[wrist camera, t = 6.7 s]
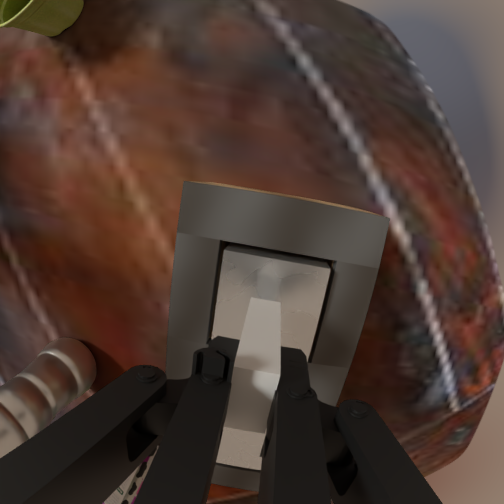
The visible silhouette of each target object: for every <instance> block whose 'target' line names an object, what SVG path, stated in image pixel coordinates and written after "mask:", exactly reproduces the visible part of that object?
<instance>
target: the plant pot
mask: <svg viewBox="0 0 504 504" xmlns="http://www.w3.org/2000/svg"><path fill="white" fill-rule="evenodd" d="M83 5H84V2H83V0H0V28H2V27H15V28H19V29H23V30H27V31H31V32H35V33H38V34H42V35H45V36H56V35H58V34H60V33H61V32H62V31H63V30H65V29H66V28H68V27H70V26H71V25H72V24H73V23H74V22H75V21H76V19H77V18H78V17H79V15H80V13H81V11H82V8H83Z"/></svg>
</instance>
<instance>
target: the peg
mask: <svg viewBox="0 0 504 504" xmlns="http://www.w3.org/2000/svg"><path fill="white" fill-rule="evenodd" d="M330 270H331V269H330V267H329V265H328V264H327V262H326V260H325V259H324V258H319V257H313V256H308V255H302V254H296V253H291V252H285V251H280V250H274V249H269V248H263V247H257V246H252V245H246V244H240V243H235V242H231V243H230V244H229V245H228V246H227V247H226V248H225V249H224V252H223V259H222V266H221V273H220V280H219V287H218V295H217V302H216V309H215V317H214V324H213V332H212V339H213V338H215V337H217V336H223V337H228V338H233V339H238V340H240V339H241V335H242V331H243V327H244V323H245V319H246V315H247V311H248V307H249V303H250V299H251V297H253V298H258V299H264V300H269V301H275V302H281V346H283V347H290V348H296V349H301V350H302V351H303V352H304V354H305V355H306V357H307V361H308V358H309V354H310V351H311V347H312V343H313V339H314V336H315V332H316V328H317V324H318V320H319V316H320V312H321V308H322V304H323V300H324V296H325V292H326V287H327V283H328V279H329V274H330Z"/></svg>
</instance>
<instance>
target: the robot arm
mask: <svg viewBox="0 0 504 504" xmlns="http://www.w3.org/2000/svg"><path fill="white" fill-rule="evenodd" d="M224 427H228V428H233V429H239V430H244V431H250V432H257V433H263V434H265V431H266V436H265V439H264V443H263V446H262V449H261V453H260V456H259V457H262V463H261V474H260V484H259V494H258V504H331V500H330V496H331V498H332V501H333V503H334V504H442V502H441V501H440V499H439V498H438V496H437V495H436V494H435V492H434V491H433V489H432V488H431V487H430V486H429V484H428V483H427V481H426V480H425V478H424V477H423V475H422V474H421V473H420V471H419V470H418V469H417V467H416V466H415V464H414V463H413V462H412V460H411V459H410V457H409V456H408V455H407V453H406V452H405V450H404V449H403V448H402V446H401V445H400V443H399V442H398V441H397V439H396V438H395V437H394V435H393V434H392V432H391V431H390V430H389V428H388V427H387V425H386V424H385V423H384V421H383V420H382V419H381V417H380V416H379V414H378V413H377V412H376V410H375V409H374V408H373V407H372V406H371V405H369V404H368V403H366V402H363V401H360V400H351V399H350V400H346V401H343V402H342V403H341V404H340V406H339V408H338V407H335V406H331V405H328V404H326V403H323V402H321V401H320V400H318V398H317V394H316V392H315V390H313V389H312V388H311V387H310V379H309V372H308V364H307V357H306V355H305V354H304V352H303V351H302V350H301V349H296V348H290V347H283V346H281V302H275V301H269V300H264V299H258V298H253V297H251V299H250V303H249V307H248V311H247V315H246V319H245V323H244V327H243V331H242V335H241V339H240V340H238V339H233V338H228V337H223V336H217V337H215V338H213V339H212V340H211V341H210V343H209V346H208V347H207V348H201V349H198V350H196V351H195V352H194V353H193V363H192V374H191V376H190V377H189V378H186V379H167V376H166V374H165V373H164V371H162V370H161V369H159V368H158V367H154V366H151V365H139V366H135V367H133V368H130V369H129V370H128V371H126V372H125V373H123V374H122V375H121V376H119V377H118V378H116V379H115V380H114V381H112V382H111V383H109V384H108V385H106V386H105V387H104V388H102V389H101V390H99V391H98V392H97V393H95V394H94V395H92V396H91V397H89V398H88V399H87V400H85V401H84V402H82V403H81V404H79V405H78V406H76V407H75V408H74V409H72V410H71V411H69V412H68V413H66V414H65V415H63V416H62V417H61V418H59V419H58V420H56V421H55V422H53V423H52V424H50V425H49V426H47V427H46V428H44V429H43V430H42V431H40V432H39V433H37V434H36V435H34V436H33V437H31V438H30V439H28V440H27V441H25V442H24V443H22V444H21V445H19V446H18V447H16V448H15V449H13V450H12V451H10V452H9V453H7V454H6V455H4V456H3V457H1V458H0V504H103V502H104V501H105V500H106V499H107V498H108V497H109V496H110V495H111V494H112V493H113V492H114V491H115V490H116V489H117V488H118V487H119V486H120V485H121V484H122V483H123V482H124V481H125V480H126V479H127V478H128V477H129V476H130V475H131V474H132V473H133V472H134V471H135V469H136V468H137V467H138V466H139V465H140V464H141V463H142V462H143V461H144V460H145V459H146V458H147V457H148V456H149V454H150V453H151V452H152V451H153V450H154V449H155V448H156V447H157V446H158V445H159V444H160V445H159V447H158V449H157V452H156V454H155V456H154V458H153V461H152V463H151V465H150V467H149V470H148V472H147V474H146V476H145V478H144V481H143V483H142V485H141V487H140V490H139V492H138V494H137V496H136V499H135V501H134V503H133V504H206V502H207V498H208V493H209V489H210V485H211V481H212V477H213V473H214V468H215V464H216V460H217V456H218V451H219V447H220V443H221V439H222V433H223V428H224ZM266 427H267V428H266ZM160 442H161V443H160Z"/></svg>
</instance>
